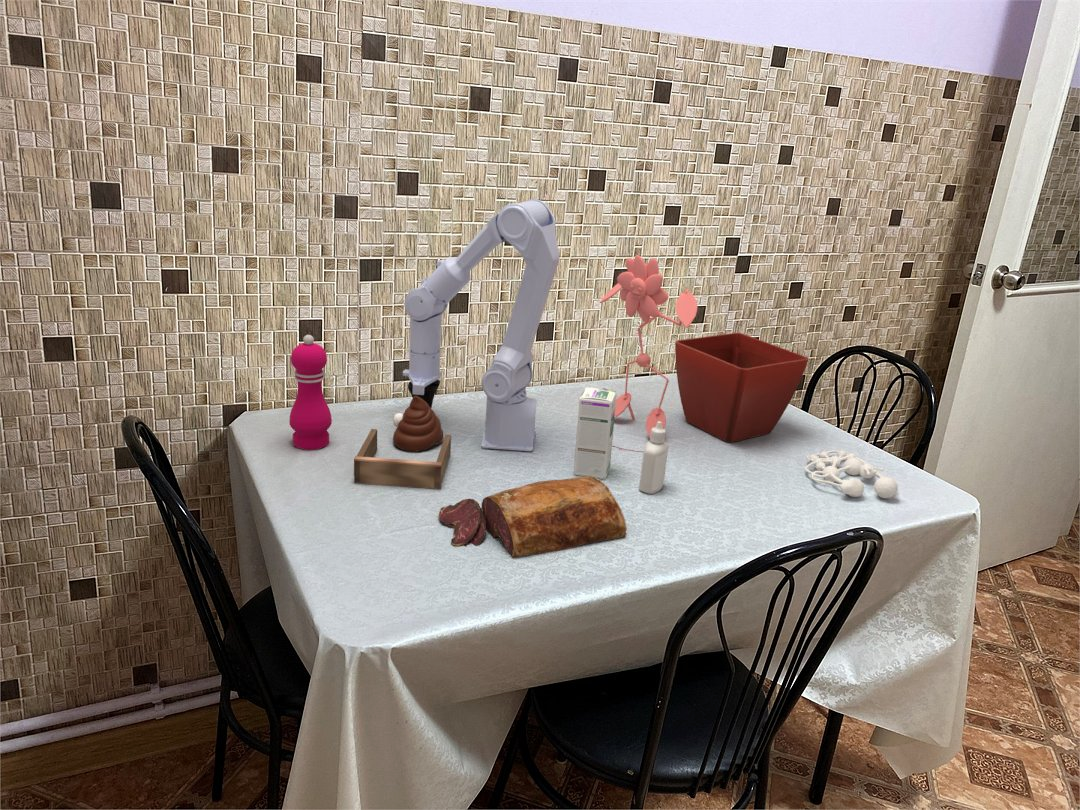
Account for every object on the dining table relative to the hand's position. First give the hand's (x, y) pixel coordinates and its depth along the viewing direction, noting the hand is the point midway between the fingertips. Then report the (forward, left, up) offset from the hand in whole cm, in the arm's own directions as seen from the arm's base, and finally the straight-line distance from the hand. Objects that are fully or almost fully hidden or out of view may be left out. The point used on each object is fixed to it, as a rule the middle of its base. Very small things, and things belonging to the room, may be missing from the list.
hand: (423, 417), depth 162 cm
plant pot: (-61, -10, -1) cm, 62 cm away
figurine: (-39, -3, -1) cm, 39 cm away
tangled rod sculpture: (-77, +12, -2) cm, 78 cm away
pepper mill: (+18, +13, -1) cm, 22 cm away
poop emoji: (0, +9, -2) cm, 9 cm away
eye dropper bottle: (-42, +21, -1) cm, 47 cm away
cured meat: (-21, +37, -2) cm, 43 cm away
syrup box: (-32, +16, -1) cm, 36 cm away
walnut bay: (0, +20, -1) cm, 20 cm away
